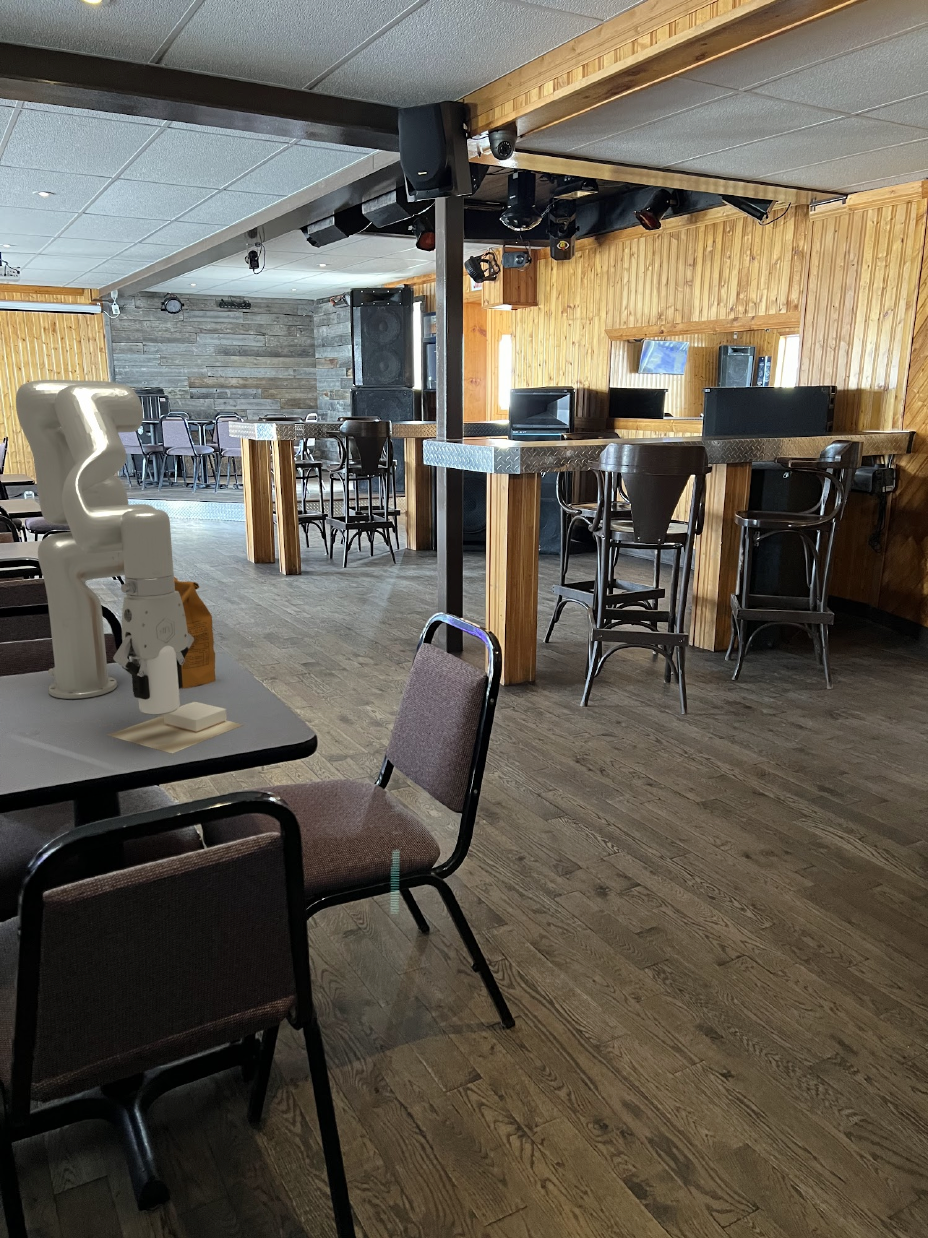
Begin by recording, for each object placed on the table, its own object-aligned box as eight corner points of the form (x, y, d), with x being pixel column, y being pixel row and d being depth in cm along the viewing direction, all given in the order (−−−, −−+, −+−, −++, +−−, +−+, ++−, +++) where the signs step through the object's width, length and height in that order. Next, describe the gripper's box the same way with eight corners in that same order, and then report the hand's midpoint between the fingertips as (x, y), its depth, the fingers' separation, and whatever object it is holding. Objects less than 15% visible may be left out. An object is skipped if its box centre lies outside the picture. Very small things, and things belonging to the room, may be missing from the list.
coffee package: (197, 672, 196) (190, 570, 191) (222, 686, 187) (215, 579, 182) (151, 681, 190) (142, 576, 185) (175, 695, 181) (167, 585, 176)
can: (167, 716, 150) (162, 645, 147) (131, 714, 151) (125, 643, 149) (187, 704, 156) (182, 636, 154) (152, 702, 158) (146, 634, 155)
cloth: (107, 740, 157) (107, 735, 156) (180, 714, 170) (180, 709, 170) (172, 759, 148) (172, 753, 148) (244, 730, 162) (243, 724, 162)
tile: (163, 712, 161) (195, 720, 157) (194, 701, 167) (226, 709, 163) (164, 724, 162) (196, 733, 157) (195, 713, 167) (226, 721, 163)
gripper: (121, 597, 140) (131, 710, 144) (207, 580, 154) (213, 683, 159) (89, 592, 144) (99, 702, 148) (176, 576, 158) (183, 676, 162)
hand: (158, 691), depth 153 cm, fingers closed on can, 6 cm apart
